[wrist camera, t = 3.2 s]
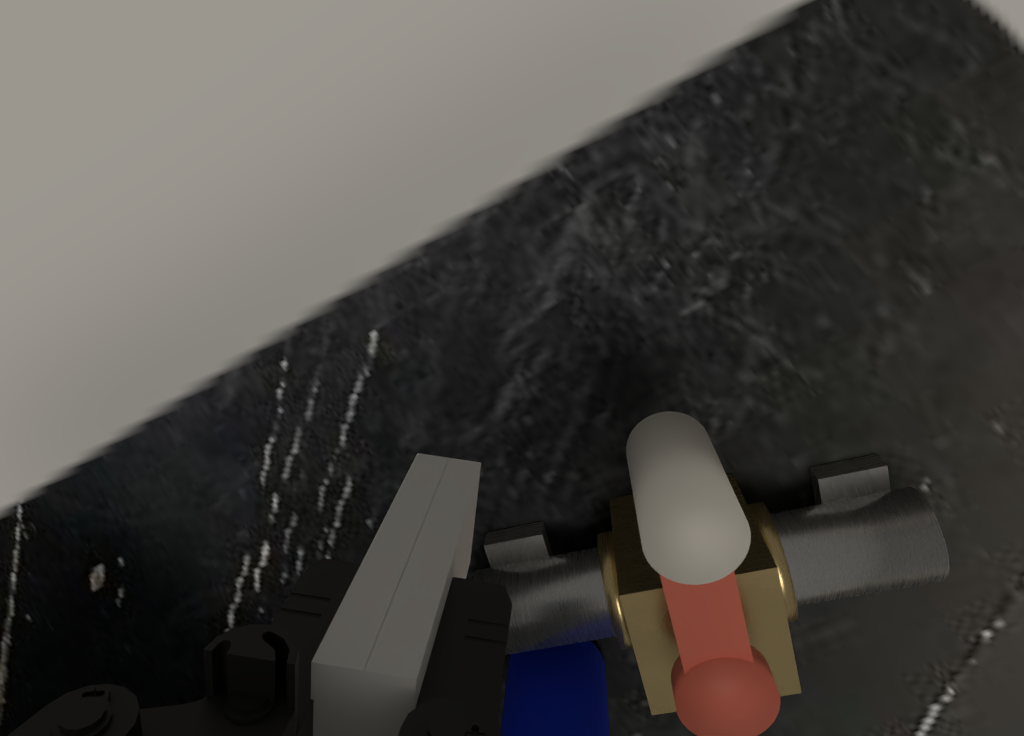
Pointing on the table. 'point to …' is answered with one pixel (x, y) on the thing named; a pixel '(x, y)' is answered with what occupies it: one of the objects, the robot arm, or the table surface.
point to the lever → (700, 575)
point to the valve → (760, 577)
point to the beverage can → (556, 692)
